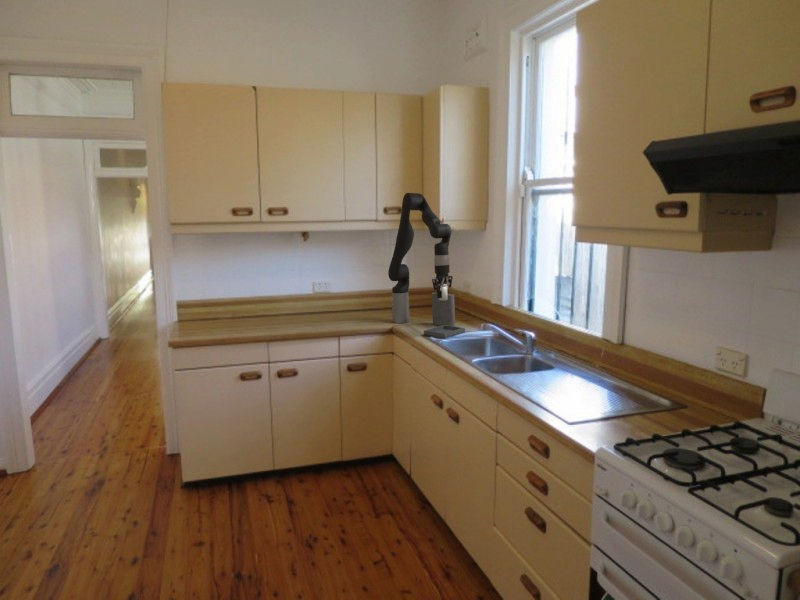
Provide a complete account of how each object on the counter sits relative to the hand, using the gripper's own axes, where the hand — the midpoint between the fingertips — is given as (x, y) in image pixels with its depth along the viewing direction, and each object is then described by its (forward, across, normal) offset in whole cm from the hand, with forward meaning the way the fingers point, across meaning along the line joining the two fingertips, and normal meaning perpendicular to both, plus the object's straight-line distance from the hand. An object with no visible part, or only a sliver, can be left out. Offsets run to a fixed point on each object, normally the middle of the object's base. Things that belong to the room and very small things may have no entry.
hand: (443, 297), depth 290 cm
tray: (+19, 0, 0) cm, 19 cm away
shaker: (+1, 0, 0) cm, 1 cm away
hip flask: (+20, -16, -14) cm, 29 cm away
